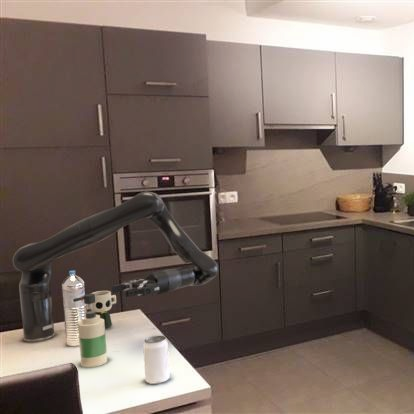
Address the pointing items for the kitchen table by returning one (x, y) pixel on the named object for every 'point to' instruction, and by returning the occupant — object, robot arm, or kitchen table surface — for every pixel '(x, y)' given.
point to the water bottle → (73, 307)
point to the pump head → (87, 299)
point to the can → (156, 359)
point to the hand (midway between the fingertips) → (118, 291)
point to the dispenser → (92, 340)
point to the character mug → (103, 305)
